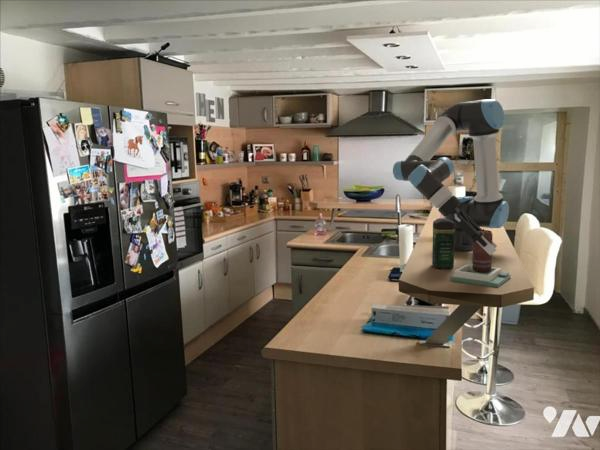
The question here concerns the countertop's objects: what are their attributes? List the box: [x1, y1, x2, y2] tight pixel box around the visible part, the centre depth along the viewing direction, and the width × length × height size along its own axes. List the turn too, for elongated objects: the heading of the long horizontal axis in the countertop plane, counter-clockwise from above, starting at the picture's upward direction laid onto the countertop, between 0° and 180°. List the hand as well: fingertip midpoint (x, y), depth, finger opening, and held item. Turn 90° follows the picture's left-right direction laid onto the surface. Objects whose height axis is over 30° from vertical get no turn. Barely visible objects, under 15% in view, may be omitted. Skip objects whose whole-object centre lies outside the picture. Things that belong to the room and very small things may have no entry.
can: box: [472, 229, 494, 273], centre depth 168 cm, size 6×6×14 cm
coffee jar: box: [431, 217, 455, 270], centre depth 188 cm, size 10×8×19 cm
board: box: [449, 264, 511, 288], centre depth 169 cm, size 14×16×3 cm
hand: (493, 250), depth 167 cm, fingers closed on can, 6 cm apart
